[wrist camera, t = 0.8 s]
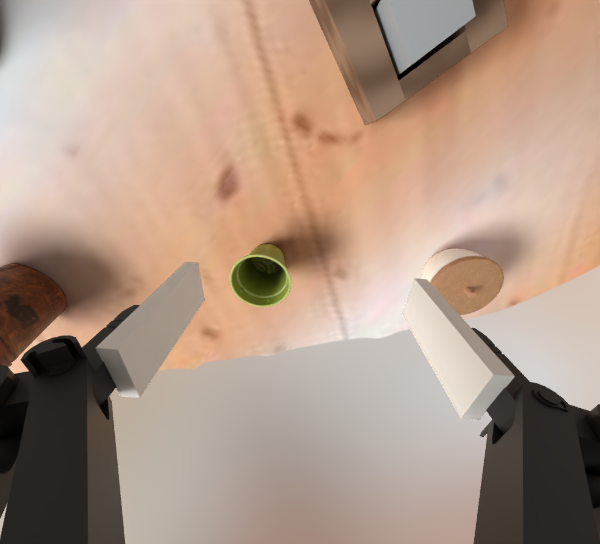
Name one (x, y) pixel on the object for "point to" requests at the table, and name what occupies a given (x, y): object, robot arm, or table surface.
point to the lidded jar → (463, 278)
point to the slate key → (419, 26)
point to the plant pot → (261, 277)
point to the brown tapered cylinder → (25, 308)
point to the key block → (375, 58)
